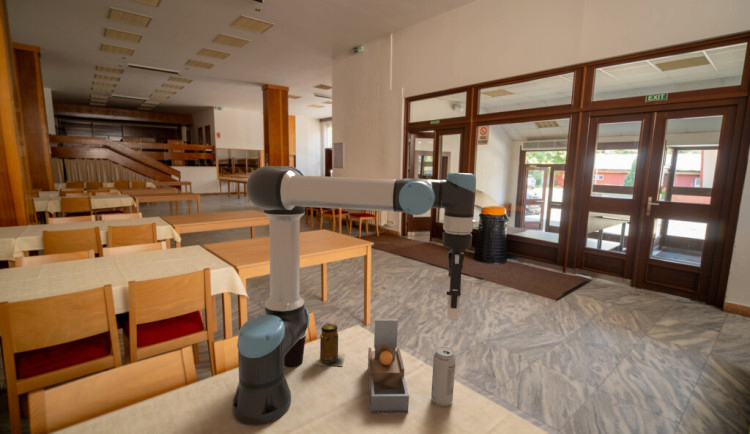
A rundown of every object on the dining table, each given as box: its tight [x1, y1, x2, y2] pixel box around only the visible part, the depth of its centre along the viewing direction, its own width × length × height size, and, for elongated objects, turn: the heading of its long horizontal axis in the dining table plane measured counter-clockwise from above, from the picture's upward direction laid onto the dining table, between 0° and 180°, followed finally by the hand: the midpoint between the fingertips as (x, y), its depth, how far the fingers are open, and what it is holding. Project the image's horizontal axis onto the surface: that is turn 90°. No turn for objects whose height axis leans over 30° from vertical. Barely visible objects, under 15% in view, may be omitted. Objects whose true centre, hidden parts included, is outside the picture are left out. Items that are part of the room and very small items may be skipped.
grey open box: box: [369, 375, 410, 414], centre depth 97 cm, size 10×9×5 cm
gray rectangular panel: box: [373, 318, 399, 359], centre depth 107 cm, size 7×1×13 cm, turn 94°
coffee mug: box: [284, 331, 307, 369], centre depth 116 cm, size 12×9×10 cm
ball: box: [379, 351, 393, 365], centre depth 105 cm, size 4×4×4 cm
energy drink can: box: [430, 346, 457, 407], centre depth 98 cm, size 6×6×15 cm
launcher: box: [367, 347, 405, 392], centre depth 107 cm, size 10×12×7 cm
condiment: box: [316, 323, 346, 367], centre depth 116 cm, size 7×8×12 cm
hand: (451, 308), depth 94 cm, fingers open, 13 cm apart
